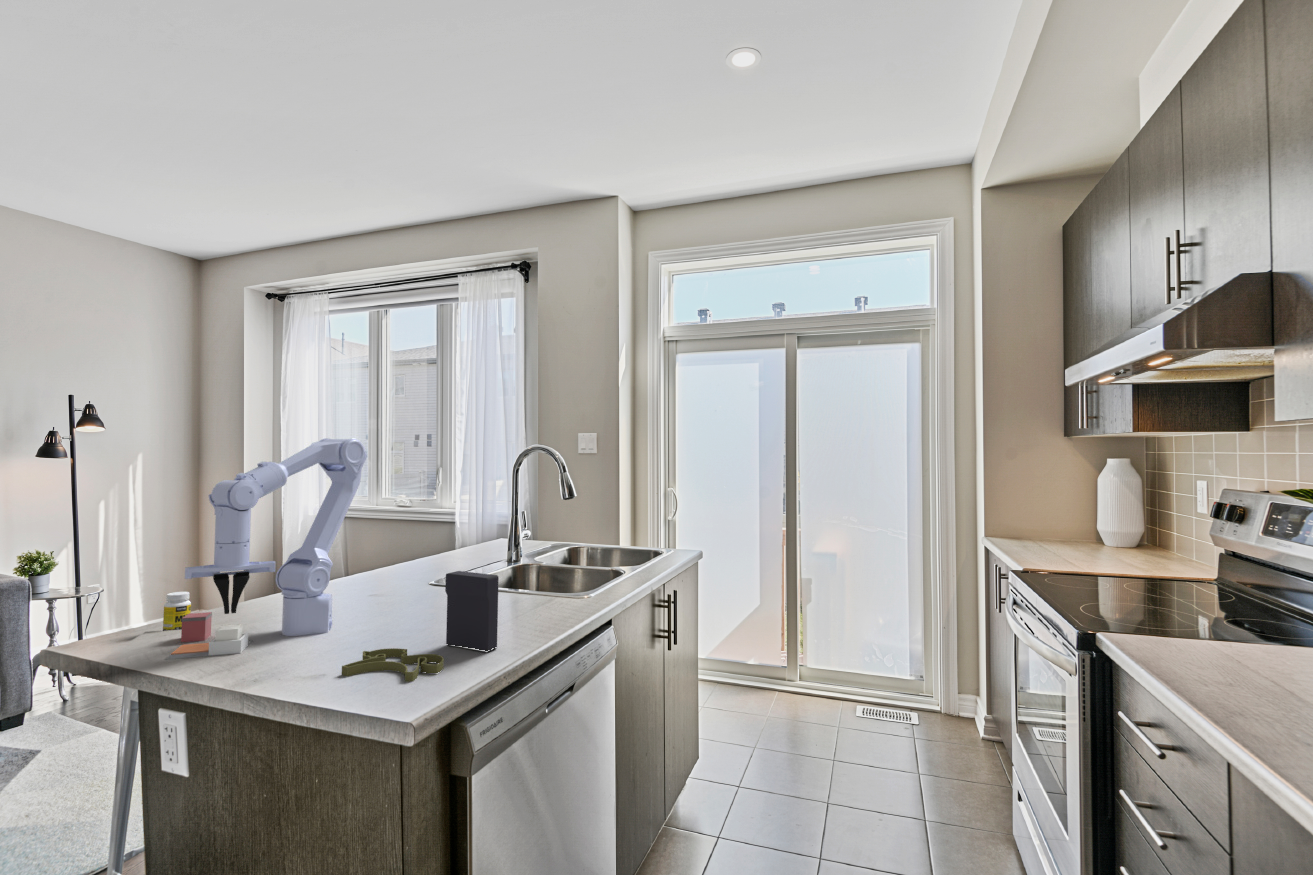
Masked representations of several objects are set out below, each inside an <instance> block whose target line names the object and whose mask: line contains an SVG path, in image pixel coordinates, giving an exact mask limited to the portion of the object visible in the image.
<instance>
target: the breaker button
mask: <svg viewBox="0 0 1313 875" xmlns="http://www.w3.org/2000/svg"><path fill="white" fill-rule="evenodd" d="M243 626H244V624H243V623H241V624H240V623H239V624H228V625H220V626H219V627H218V628H217V629H215V637H214V638H215V641H228V640H239V639H240V638H241V637H242V635H243V633H244V632H243V630H244V628H243Z"/></svg>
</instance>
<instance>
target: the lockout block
mask: <svg viewBox="0 0 1313 875" xmlns="http://www.w3.org/2000/svg"><path fill="white" fill-rule="evenodd" d="M212 617H213V612H212V611H210V612H206V611H205V612H194V613H193V612H191V613H189V614H187V615H186V616H185V617H183V618H182V630H181V635H180V636H181V637H180V643H186V642H187V643H190V642H203V641H206V640H207V639H209V637H211V636H212V620H213V619H212Z"/></svg>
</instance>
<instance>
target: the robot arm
mask: <svg viewBox="0 0 1313 875" xmlns="http://www.w3.org/2000/svg"><path fill="white" fill-rule="evenodd" d="M367 458H368V454H367V451H366V449H365V446H364V443H363V442H362V441H361V440H359V439H358V438H327V437H326V438H322V439H320V440H319V441H315V442H312V443H311V444H310V445H309V446H307V447H306V448H304V449H302V450H300V451H297V453H295V454H293V455H291V456H289V457H287V458H285V459H283V460H282V461H280V462H278V463H277V462H275V461H260V462H258V463H257V467H255V468H253V469H251V470H248V471H247V472H245V473H244V472H239V473H237V474H236V475H235V478H234V479H233V480H232V479H226V480H224V479H223V480H221V481H219V482H217V483H216V484H215V485H214V487H212V491H211V493H210V494H208V500H209V503H210V504H211V506H212V507H213V508H214V516H215V522H214V526H215V528H214V550H213V556H214V557H213V564H207V565H199V566H187V567H185V569H184V580H191V579H197V578H208V577H211V578H212V579H213V582H214V584H215V586H216V588H217V590H218V592H219V594H220V597H221V600H222V604H223V612H224V615H229V614H230V612H231V614H236V613H237V610H238V604H239V601H240V598H241V596H242V593H243V591H244V589H245V588H246V585H247V584H248V582H249V579H250V577H251V576H250V574H256V573H257V574H258V573H276V575H275V584H276V586H277V588H278V589H280V591H281V595H282V596H283V597H282V615H281V616H282V617H281V618H282V620H281V622H282V623H281V624H282V625H281V634H282V635H284V636H287V637H290V636H292V637H293V636H294V637H296V636H297V637H298V636H306V635H315V634H326V633H329V631H330V629H332V628H333V594H332V593H324V591H326V589H327V587H328V585H329V583H330V580H331V572H332V571H331V570H332V567H333V566H334V564H333V561H332V560H331V558H330V557H329V552H330V550H331V548H332V547H333V545H334V542H335V539H336V538H337V535H338V533H339V530H340V528H341V526H342V525H343V521H344V520H345V518H346V515H347V513H348V510H350V506H351V504H352V502H353V500H354V498H355V495H356V493H357V490H358V489H359V487H360V483H361V478H362V470H363V467H364V465H365V462H366V460H367ZM317 464H318V465H319V466H320V467H321V469H322V470H323V471H324V472H325V474H326V475H327V476H328V477H329V479H330V481H331V484H330V486H329V489H328V490H327V493H326V496H325V497H324V498H323V501H322V504H321V505H320V508H319V509H318V512H317V514H316V516H315V517H314V520H313V522H312V525H311V526H310V529H309V530H308V533H307V535H306V537H305V539H304V540H303V543H302V545H301V547H299V548H298V549H296V550H294V552H291V553H290V554H289V555H288V557H287V560H286V561H285V562H284V563H283V564H282V565H281V566H280V567H279V568H278V570H277V572H276V565H277V564H276V561H275V560H269V561H267V560H265V561H250V554H251V553H250V551H251V550H250V548H251V525H252V522H251V520H252V509H253V508H254V507H255V506H256V505H257V504H258V501H259V499H261V498H263V497H265V496H267V495H269V494H271V493H272V492H273V493H274V492H275V491H276V490H278V489H280V488H283V487H284V486H285V485H286V484H287V481H288V478H289V477H291V476H293V475H295V474H297V473H300V472H302V471H305V470H306V469H309V468H310V467H313V466H315V465H317ZM231 575H232V597H231V604H230V602H229V601H230V599H229V598H230V597H229V595H230V594H229V593H230V592H229V591H230V576H231Z"/></svg>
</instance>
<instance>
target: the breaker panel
mask: <svg viewBox="0 0 1313 875" xmlns="http://www.w3.org/2000/svg"><path fill="white" fill-rule="evenodd" d="M252 642H253V640H249V633H248V632H245V633H244V632H243V635H242V637H241V638H240V639H239V640H228V641H215V637H214V638H212V640H210V641H209V642H201V643H190V644H181V645H180V646H179V647H177V648H176V649H175V650H174V651H173V652H171V653H170V654H169V655H168V656H167V657H166V658H164V661H165V660H176V659H177V660H178V659H190V658H191V659H193V658H203V657H215V656H227V655H228V656H229V655H241V653H242V652H244V651H245V649H246V648H247V647H248V646H249V645H250V644H251V643H252Z"/></svg>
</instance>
